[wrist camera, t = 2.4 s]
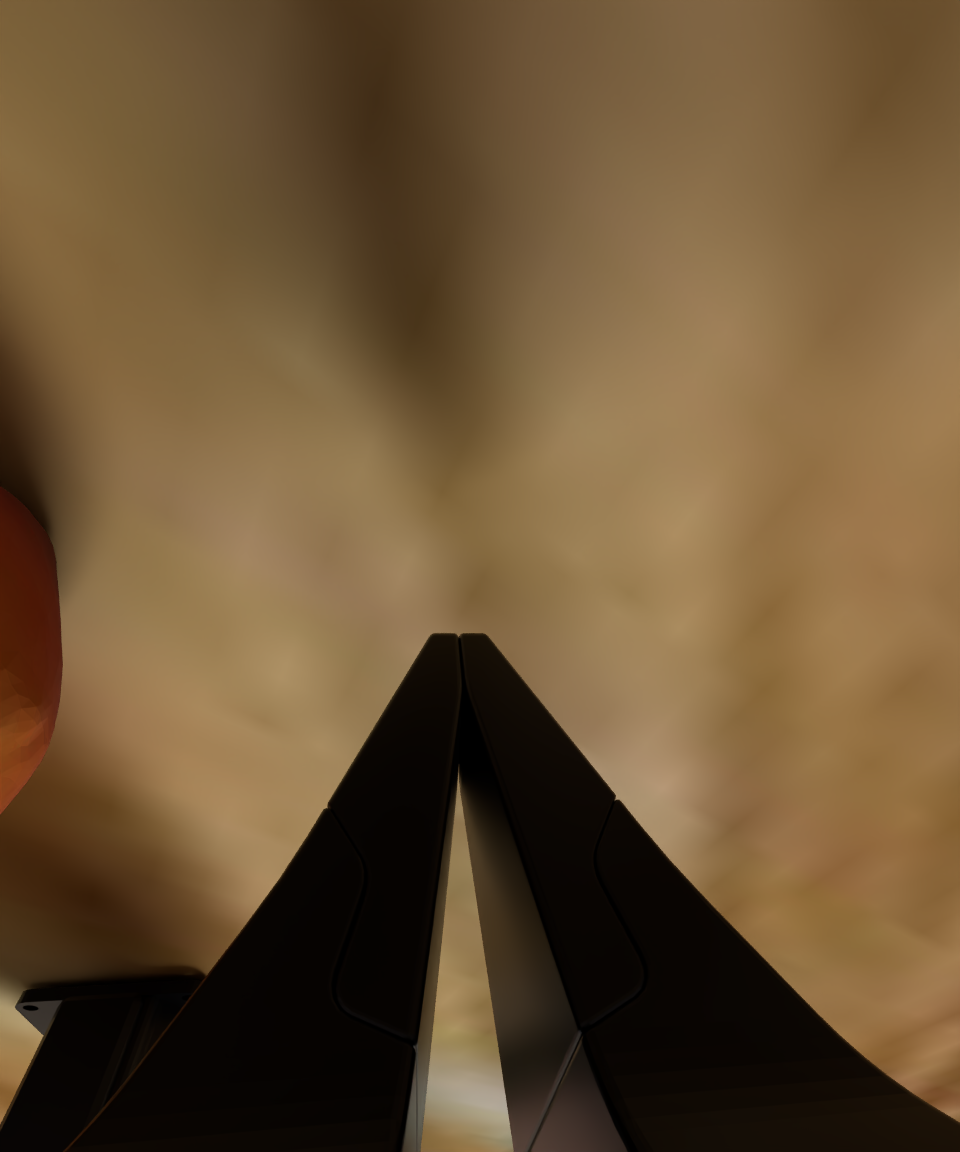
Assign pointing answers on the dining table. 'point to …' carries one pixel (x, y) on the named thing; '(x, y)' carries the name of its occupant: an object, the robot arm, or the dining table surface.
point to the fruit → (26, 645)
